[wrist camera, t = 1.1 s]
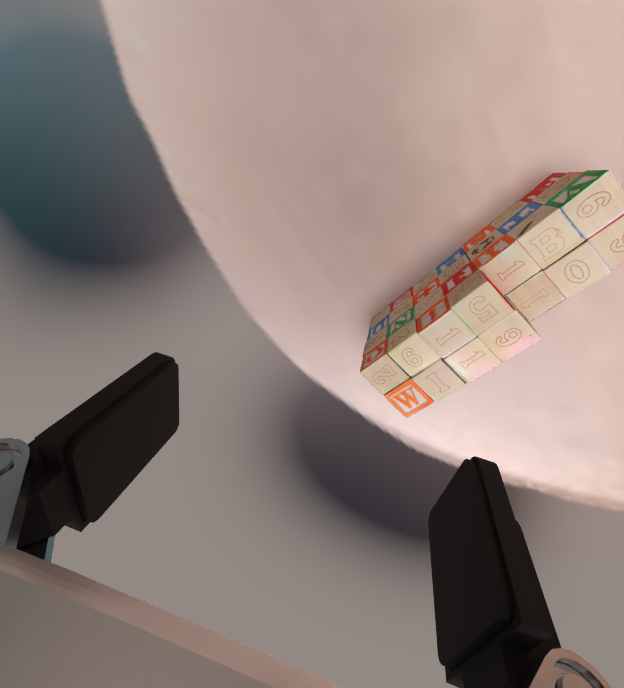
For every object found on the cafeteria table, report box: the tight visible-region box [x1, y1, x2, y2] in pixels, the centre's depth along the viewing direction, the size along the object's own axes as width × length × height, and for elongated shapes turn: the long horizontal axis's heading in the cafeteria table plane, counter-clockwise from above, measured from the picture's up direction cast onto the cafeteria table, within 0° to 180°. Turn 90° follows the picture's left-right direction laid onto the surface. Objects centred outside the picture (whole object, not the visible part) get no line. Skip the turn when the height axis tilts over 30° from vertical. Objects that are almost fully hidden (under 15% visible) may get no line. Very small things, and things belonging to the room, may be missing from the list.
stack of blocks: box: [360, 170, 624, 418], centre depth 28 cm, size 21×6×12 cm, turn 137°
